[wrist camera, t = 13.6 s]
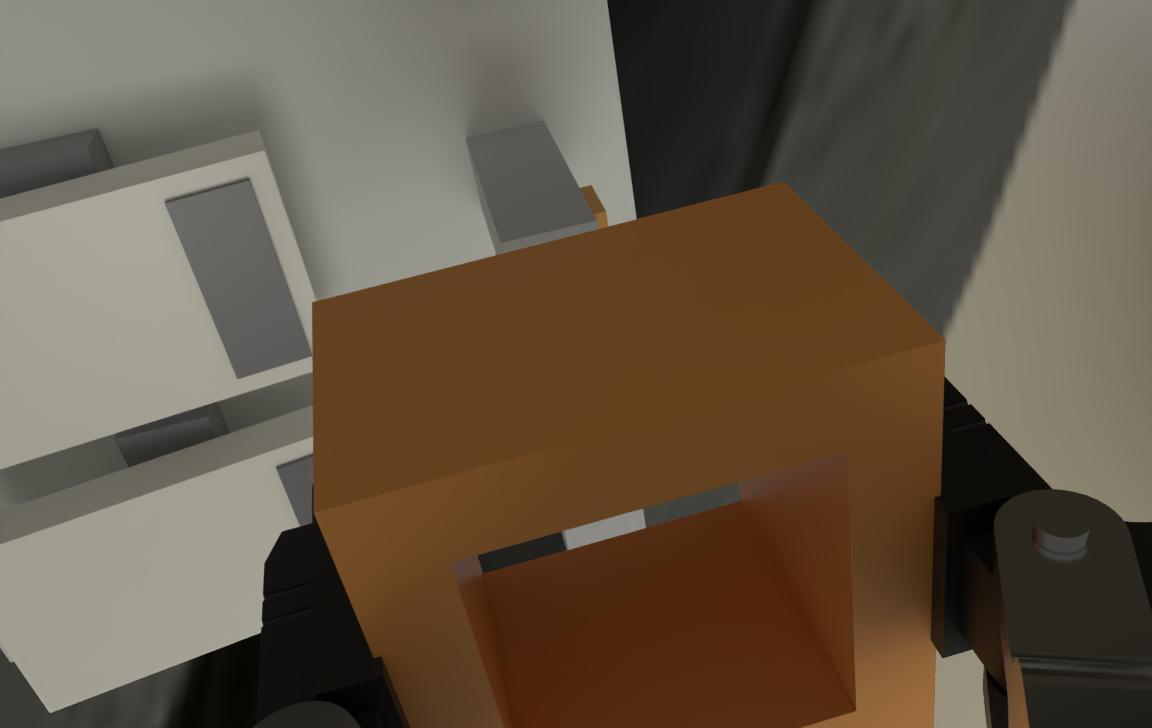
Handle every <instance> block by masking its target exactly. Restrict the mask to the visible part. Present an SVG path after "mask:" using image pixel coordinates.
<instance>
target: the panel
mask: <svg viewBox="0 0 1152 728" xmlns="http://www.w3.org/2000/svg"><path fill="white" fill-rule="evenodd" d="M256 130H259V131H260V134H261V137H262V140H263V143H264V145H265V148H266V151H267V154H268V157H269V160H270V163H271V166H272V169H273V172H274V175H275V178H276V180H277V183H278V186H279V189H280V192H281V195H282V198H283V201H284V204H285V207H286V210H287V213H288V215H289V218H290V221H291V224H292V227H293V230H294V233H295V236H296V239H297V242H298V245H299V248H300V250H301V253H302V256H303V259H304V262H305V265H306V268H307V271H308V274H309V277H310V280H311V283H312V285H313V288H314V291H315V294H316V297H317V300H318V301H319V300H323V299H327V298H331V297H335V296H338V295H342V294H346V293H350V292H354V291H358V290H362V289H366V288H370V287H374V286H378V285H381V284H385V283H389V282H393V281H397V280H401V279H405V278H409V277H413V276H417V275H421V274H425V273H428V272H432V271H436V270H440V269H444V268H448V267H452V266H456V265H460V264H464V263H468V262H471V261H475V260H479V259H483V258H487V257H491V256H495V255H499V254H503V253H507V252H511V251H515V250H518V249H522V248H526V247H530V246H534V245H538V244H542V243H546V242H550V241H554V240H558V239H561V238H565V237H569V236H573V235H577V234H581V233H585V232H589V231H593V230H597V229H601V228H605V227H608V226H612V225H616V224H620V223H624V222H628V221H632V220H636V211H635V204H634V197H633V189H632V182H631V175H630V167H629V160H628V152H627V145H626V138H625V130H624V123H623V115H622V108H621V101H620V93H619V86H618V79H617V71H616V64H615V56H614V49H613V42H612V34H611V27H610V19H609V12H608V5H607V0H0V199H1V198H5V197H8V196H12V195H16V194H20V193H23V192H27V191H31V190H35V189H38V188H42V187H46V186H50V185H53V184H57V183H61V182H65V181H68V180H72V179H76V178H80V177H83V176H87V175H91V174H95V173H98V172H102V171H106V170H110V169H113V168H117V167H121V166H125V165H128V164H132V163H136V162H140V161H144V160H147V159H151V158H155V157H159V156H162V155H166V154H170V153H174V152H177V151H181V150H185V149H189V148H192V147H196V146H200V145H204V144H207V143H211V142H215V141H219V140H222V139H226V138H230V137H234V136H237V135H241V134H245V133H249V132H252V131H256ZM312 405H313V372H310V373H307V374H303V375H300V376H297V377H294V378H291V379H287V380H284V381H281V382H278V383H275V384H271V385H268V386H265V387H262V388H259V389H256V390H252V391H249V392H246V393H243V394H240V395H236V396H233V397H230V398H227V399H224V400H220V401H217V402H214V403H211V404H208V405H204V406H201V407H198V408H195V409H192V410H188V411H185V412H182V413H179V414H176V415H172V416H169V417H166V418H163V419H160V420H157V421H153V422H150V423H147V424H144V425H141V426H137V427H134V428H131V429H128V430H125V431H121V432H118V433H115V434H112V435H109V436H105V437H102V438H99V439H96V440H93V441H89V442H86V443H83V444H80V445H77V446H74V447H70V448H67V449H64V450H61V451H58V452H54V453H51V454H48V455H45V456H42V457H38V458H35V459H32V460H29V461H26V462H22V463H19V464H16V465H13V466H10V467H6V468H3V469H0V511H2V510H5V509H8V508H11V507H14V506H17V505H20V504H23V503H26V502H29V501H31V500H34V499H37V498H40V497H43V496H46V495H49V494H52V493H55V492H58V491H61V490H64V489H67V488H70V487H73V486H76V485H79V484H82V483H85V482H88V481H91V480H93V479H96V478H99V477H102V476H105V475H108V474H111V473H114V472H117V471H120V470H123V469H126V468H129V467H132V466H135V465H138V464H141V463H144V462H147V461H150V460H153V459H155V458H158V457H161V456H164V455H167V454H170V453H173V452H176V451H179V450H182V449H185V448H188V447H191V446H194V445H197V444H200V443H203V442H206V441H209V440H212V439H215V438H217V437H220V436H223V435H226V434H229V433H232V432H235V431H238V430H241V429H244V428H247V427H250V426H253V425H256V424H259V423H262V422H265V421H268V420H271V419H274V418H277V417H279V416H282V415H285V414H288V413H291V412H294V411H297V410H300V409H303V408H306V407H309V406H312ZM644 528H646V526H645V519H644V513H643V509H640V510H636V511H633V512H629V513H626V514H622V515H618V516H615V517H611V518H608V519H604V520H601V521H597V522H594V523H590V524H586V525H583V526H579V527H576V528H572V529H569V530H565V531H561V532H562V536H563V539H564V543H565V546H566V549H567V550H570V549H573V548H577V547H580V546H584V545H588V544H591V543H595V542H598V541H602V540H605V539H609V538H612V537H616V536H619V535H623V534H626V533H630V532H634V531H637V530H641V529H644ZM0 648H1V649H2V651H3V652H4V654H5V655H6V657H7V658H8V659H9V661H10V662H14V661H13V659H12V658H11V656H10V655H9V653H8V652H7V650H6V649H5V648H4V646H3V645H2V643H1V642H0Z"/></svg>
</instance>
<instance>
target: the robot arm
mask: <svg viewBox="0 0 1152 728" xmlns="http://www.w3.org/2000/svg"><path fill="white" fill-rule="evenodd" d="M263 597H264V601H262V623H263V627H261V642H260V663H259V683H258V704H257V721H256V726H255V727H254V728H410V726H409V723H408V721H407V718H406V716H405V713H404V711H403V708H402V706H401V703H400V701H399V698H398V696H397V694H396V691H395V689H394V686H393V684H392V681H391V679H390V676H389V674H388V671H387V669H386V666H385V664H384V662H383V659H382V657H381V656H380V657H377V658H373V655H372V653H371V650H370V648H369V645H368V643H367V641H366V638H365V636H364V633H363V631H362V628H361V626H360V624H359V621H358V619H357V616H356V614H355V612H354V609H353V607H352V604H351V602H350V599H349V597H348V595H347V592H346V590H345V587H344V585H343V582H342V580H341V578H340V575H339V573H338V570H337V568H336V566H335V563H334V561H333V558H332V556H331V553H330V551H329V549H328V546H327V544H326V541H325V539H324V536H323V534H322V532H321V529H320V527H319V524H318V522H317V520H316V517H315V515H314V483H313V485H312V523H311V524H307V525H304V526H300V527H296V528H293V529H289V530H285V531H282V532H281V534H280V536H279V538H278V539H277V541H276V543H275V545H274V547H273V548H272V550H271V552H270V554H269V556H268V558H267V559H266V561H265V563H264V580H263ZM931 642H932V643H933V644H934V646H935V647H936V649H937V650H938V652H939V653H940V655H941V656H942V658H945V657H949V656H952V655H955V654H958V653H962V652H965V651H969V650H972V649H973V651H974V652H975V653H976V655H977V656H978V658H979V659H980V660H981V662H982V663H983V664H984V673H983V695H984V705H985V715H986V724H987V728H1152V522H1146V523H1145V522H1126V521H1123V519H1122V518H1121V517H1120V516H1119V515H1118V514H1117V513H1116V512H1115V511H1114V510H1113V509H1111V508H1110V507H1109V506H1107V505H1106V504H1104V503H1102V502H1100V501H1098V500H1097V499H1094V498H1091V497H1089V496H1087V495H1084V494H1080V493H1077V492H1072V491H1066V490H1056V489H1052V488H1051V487H1050V486H1049V485H1048V484H1047V483H1046V482H1045V481H1044V480H1043V479H1042V478H1041V477H1040V476H1039V474H1037V472H1036V471H1035V470H1034V469H1033V468H1032V467H1031V466H1030V465H1029V464H1028V463H1027V462H1026V461H1025V460H1024V459H1023V458H1022V457H1021V456H1020V455H1019V454H1018V453H1017V452H1016V451H1015V450H1014V448H1013V447H1012V446H1011V445H1010V444H1009V443H1008V442H1007V441H1006V440H1005V439H1004V438H1003V437H1002V436H1001V435H1000V434H999V433H998V432H997V431H996V430H995V429H994V428H993V426H992V425H991V424H990V423H988V424H986V422H985V418H984V417H983V416H982V415H981V414H980V413H979V412H978V411H977V410H976V409H975V408H974V407H973V406H972V405H971V404H970V405H968V403H967V399H966V398H965V397H964V396H963V395H962V394H961V393H960V392H959V391H958V390H957V389H956V388H955V387H954V386H953V385H952V384H951V383H950V382H949V381H948V380H947V379H946V377H944V402H943V435H942V468H941V496H937V497H934V533H933V571H932V609H931Z"/></svg>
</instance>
